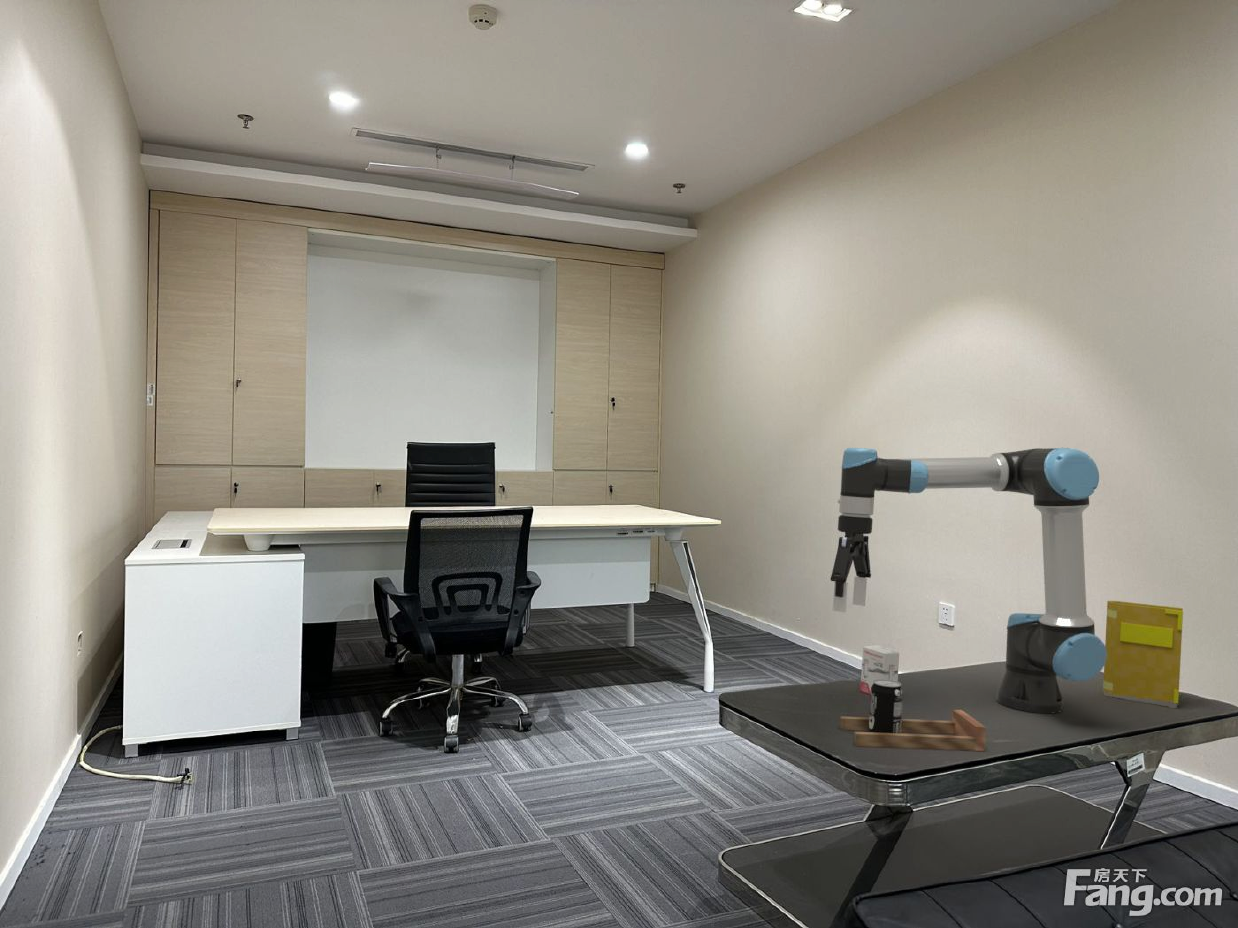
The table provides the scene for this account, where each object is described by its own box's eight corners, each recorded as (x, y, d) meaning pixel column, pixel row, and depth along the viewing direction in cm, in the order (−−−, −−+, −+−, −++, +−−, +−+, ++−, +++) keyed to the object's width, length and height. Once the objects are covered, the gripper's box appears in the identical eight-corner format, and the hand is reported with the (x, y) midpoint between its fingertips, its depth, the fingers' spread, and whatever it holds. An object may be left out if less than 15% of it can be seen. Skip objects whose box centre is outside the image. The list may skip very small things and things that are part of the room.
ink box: (859, 690, 222) (861, 645, 222) (873, 689, 224) (875, 644, 224) (883, 700, 214) (885, 652, 214) (897, 698, 216) (900, 651, 216)
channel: (960, 732, 190) (961, 709, 190) (984, 750, 178) (985, 727, 178) (839, 727, 190) (840, 704, 190) (855, 745, 178) (856, 721, 178)
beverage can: (864, 732, 187) (866, 677, 187) (893, 733, 187) (895, 678, 187) (875, 742, 180) (878, 686, 180) (905, 743, 181) (908, 686, 181)
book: (1177, 703, 224) (1182, 608, 224) (1178, 708, 219) (1183, 611, 218) (1103, 691, 233) (1108, 599, 233) (1102, 696, 228) (1106, 602, 228)
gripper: (857, 513, 208) (851, 600, 208) (820, 514, 187) (813, 611, 187) (888, 515, 204) (881, 604, 204) (854, 518, 183) (847, 616, 183)
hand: (849, 608), depth 196 cm, fingers open, 13 cm apart
